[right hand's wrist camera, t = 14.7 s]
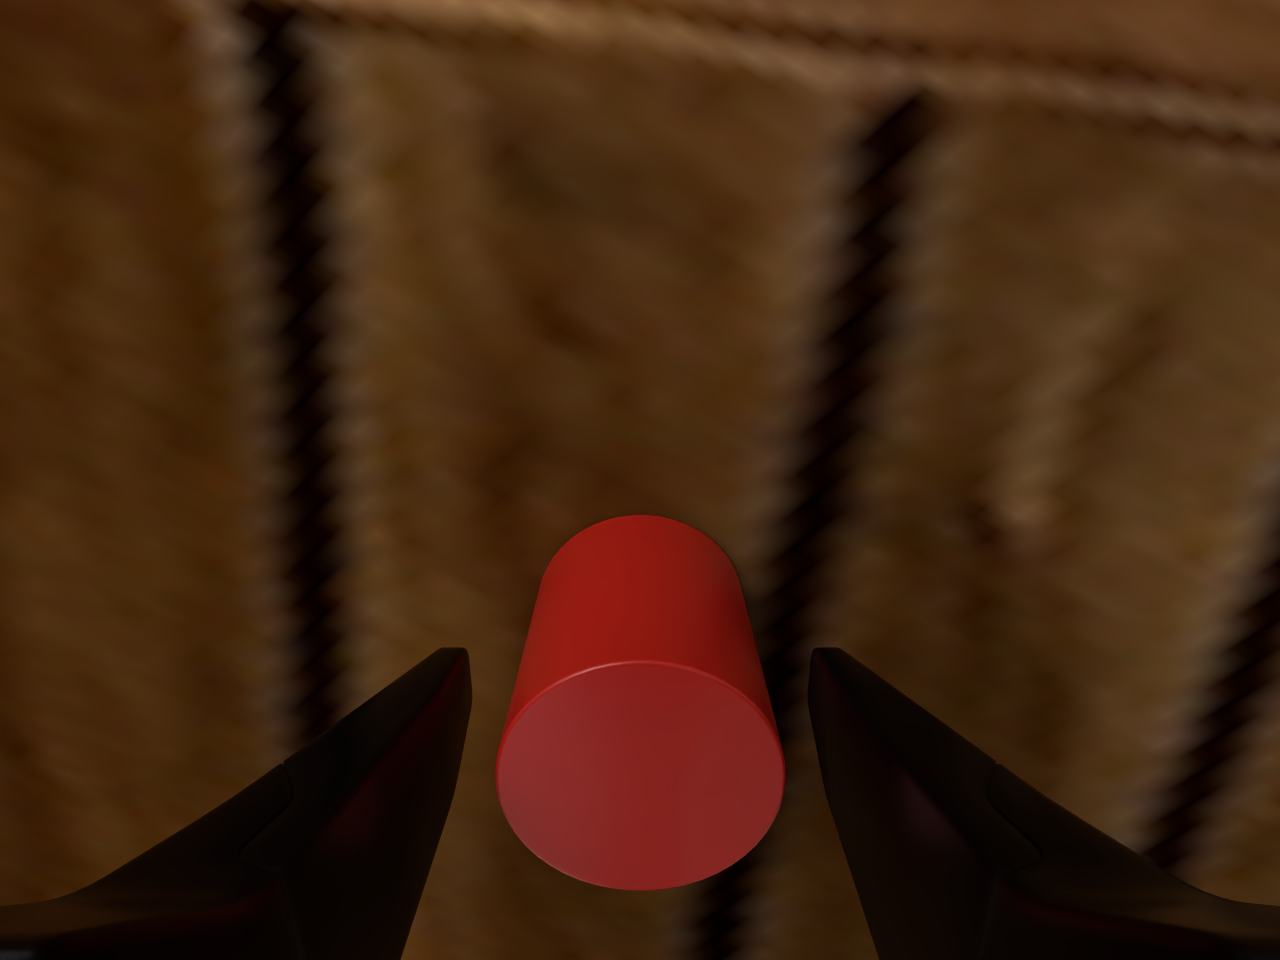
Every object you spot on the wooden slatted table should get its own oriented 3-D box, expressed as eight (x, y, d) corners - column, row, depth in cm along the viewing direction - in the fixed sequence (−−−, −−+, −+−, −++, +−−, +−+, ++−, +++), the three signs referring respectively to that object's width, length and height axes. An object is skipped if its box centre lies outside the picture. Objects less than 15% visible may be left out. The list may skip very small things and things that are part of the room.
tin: (708, 486, 13) (741, 624, 9) (766, 661, 14) (817, 854, 10) (507, 549, 13) (447, 710, 9) (579, 713, 14) (556, 919, 10)
